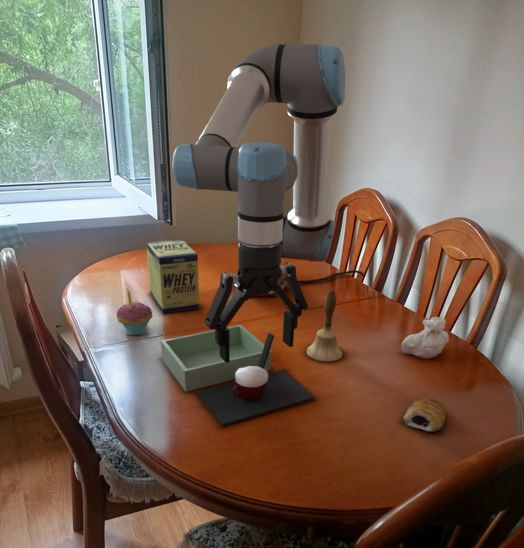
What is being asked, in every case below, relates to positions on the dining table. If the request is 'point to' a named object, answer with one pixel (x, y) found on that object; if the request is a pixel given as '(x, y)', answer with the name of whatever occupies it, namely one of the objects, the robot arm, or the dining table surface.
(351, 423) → the dining table surface
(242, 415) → the mat
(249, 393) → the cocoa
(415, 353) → the white animal figurine
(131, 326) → the cupcake
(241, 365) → the tote
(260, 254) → the robot arm
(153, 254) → the protein box
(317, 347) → the hand bell
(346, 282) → the dining table surface
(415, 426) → the pastry
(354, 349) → the dining table surface
